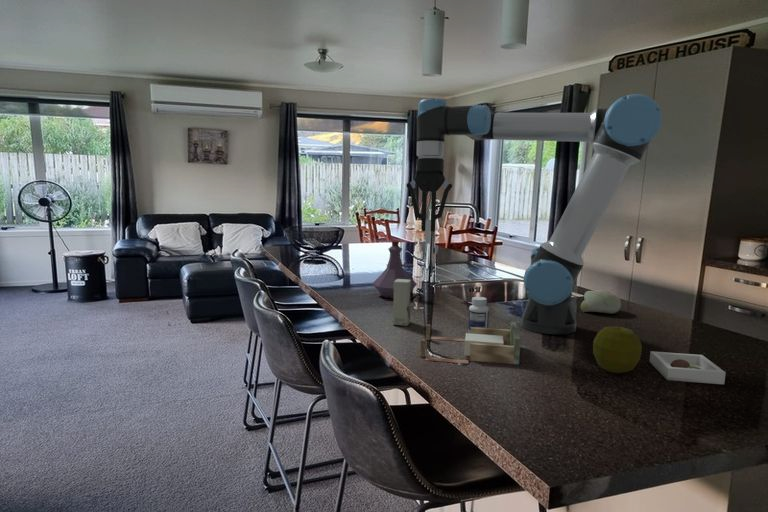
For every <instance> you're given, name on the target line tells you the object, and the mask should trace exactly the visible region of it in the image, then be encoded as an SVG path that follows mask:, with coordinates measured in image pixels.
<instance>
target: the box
mask: <svg viewBox="0 0 768 512" xmlns="http://www.w3.org/2000/svg"><path fill="white" fill-rule="evenodd" d="M410 287H411V280H408V279H397V280H395V281H394V298H393V313H392V314H393V321H392V323H393V325H394V326H403V327H407V326H408V325H409V324H410V322H411V292H410Z"/></svg>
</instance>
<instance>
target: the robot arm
mask: <svg viewBox="0 0 768 512" xmlns="http://www.w3.org/2000/svg"><path fill="white" fill-rule="evenodd" d="M418 102H419V103H418V104H417V105H418V107H417V116H416V119H417V120H416V121H417V122H416V123H417V125H416V126H417V128H416V134H417V135H416V138H417V139H416V156H417V157H418V158H417V159H416V161H415V162H416V163H415V165H416V168H415V171H416V172H415V176H414V178H413V180H412V181H410V182H407V183H406V188H407V189H408V191H409V194H410V198H411V203H412V208H413V211H414V215H415V218H418V219H420V220H421V225H420V226H421V228H420V229H421V232H425V233H424V244H430V245H431V243H432V242H431V241H432V240H431V239H432V233H433V232H435V231H436V220H437V219H441V218H442V217H443V213H444V209H445V206H446V202H447V200H448V195H449V192H450V191H451V189H452V188H453V184H452V183H450V182H448V181H446V177H445V175H444V168H445V167H444V165H445V164H444V163H445V160H444V159H443V157H444V156H445V136H466V137H467V138H469V139H471V140H473V141H483V140H500V141H501V140H502V141H503V140H504V141H505V140H506V141H538V142H539V141H541V142H542V141H543V142H577V143H578V142H579V143H582V142H583V143H588V144H589V145H590V146H592V148H593V151H594V153H593V155H592V157H591V158H590V161H589V163H588V165H587V166H586V168H585V169H584V170H585V171H584V172H583V174H582V176H581V178H580V180H579V182H578V184H577V186H576V188H575V190H574V192H573V193H572V196H571V198H570V200H569V202H568V204H567V206H566V208H565V209H564V212H563V214H562V215H561V217H560V219H559V221H558V223H557V226H555V229H554V231H553V233H552V234H551V237H550V239H549V240H548V241H545V242H543V243H540V245H539V247H534V248H533V249H532V250H531V254H530V264H529V266H528V267H527V269H526V270H525V272H524V274H523V285H524V289H525V292H526V294H527V295H528V301H527V302H526V305H525V308H524V310H523V313H522V315H521V320H520V325H521V327H522V328H524V329H526V330H529V331H530V332H531V331H532V332H534V333H540V334H546V335H568V334H572V333H575V332H576V331H577V319H576V316H575V313H574V308H573V304H572V298H573V297H572V296H573V287H574V285H575V282H576V280H577V278H578V277H579V274H580V272H581V271H582V269H583V267H584V265H585V261H584V258H583V253H585V250H586V248H587V246H588V245H589V243H590V240H591V238H592V237H593V235H594V233H595V231H596V229H597V227H598V225H599V224H600V222H601V220H602V219H603V216H604V215H605V213H606V211H607V209H608V207H609V206H610V203H611V202H612V200H613V198H614V196H615V194H616V192H617V190H618V188H619V187H620V185H621V182H622V180H623V179H624V177H625V176H626V174H627V172H628V170H629V168H630V167H631V166H632V165H635V164H638V163H640V162H641V160H642V158H643V157H644V154H645V152H646V151H647V149H648V147H649V144H650V143H651V142H652V139H653V138H655V136H657V134H658V133H659V131H660V129H661V126H662V123H663V121H662V120H663V116H662V111H661V107H660V106H659V104H658V102H657V101H656V100H654V99H653V98H652V97H650V96H648V95H645V94H641V93H634V94H633V93H632V94H626V95H625V96H621V97H620V98H618V99H616V100H615V101H614V102H613V103H612V104H611V105H610V106H609V107H608V108H595V109H594V110H593V111H590V112H492V111H491V109H490V107H489V106H488V105H486V104H485V105H481V104H480V105H479V104H474V105H457V106H448V105H446V104H447V103H446V101H445V99H442V98H430V97H429V98H424V99H421V100H419V101H418ZM416 185H417V187H418V188H419V189H420V191H421V213H420V209H419V204H418V203H419V202H418V199H417V193H416V190H415V189H416ZM442 186H443V189H444V191H443V194H442V198H441V202H440V206H439V209H438V212H437V213H436V211H437V210H436V208H437V192H438V191H439V189H440V188H441V187H442ZM428 192H430V193H431V197H430V198H431V199H430V200H431V201H430V203H431V205H430V219H427V211H428V210H427V204H428V203H427V202H428Z"/></svg>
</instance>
